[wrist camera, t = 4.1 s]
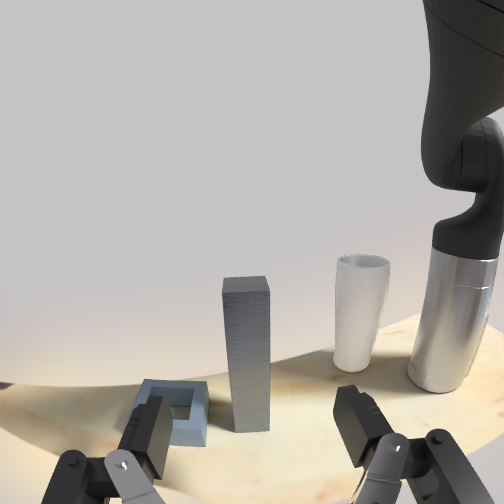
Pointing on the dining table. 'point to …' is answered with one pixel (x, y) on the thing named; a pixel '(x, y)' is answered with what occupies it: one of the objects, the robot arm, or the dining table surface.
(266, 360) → the square bit
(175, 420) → the socket block
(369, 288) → the drinking glass
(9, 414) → the dining table surface
